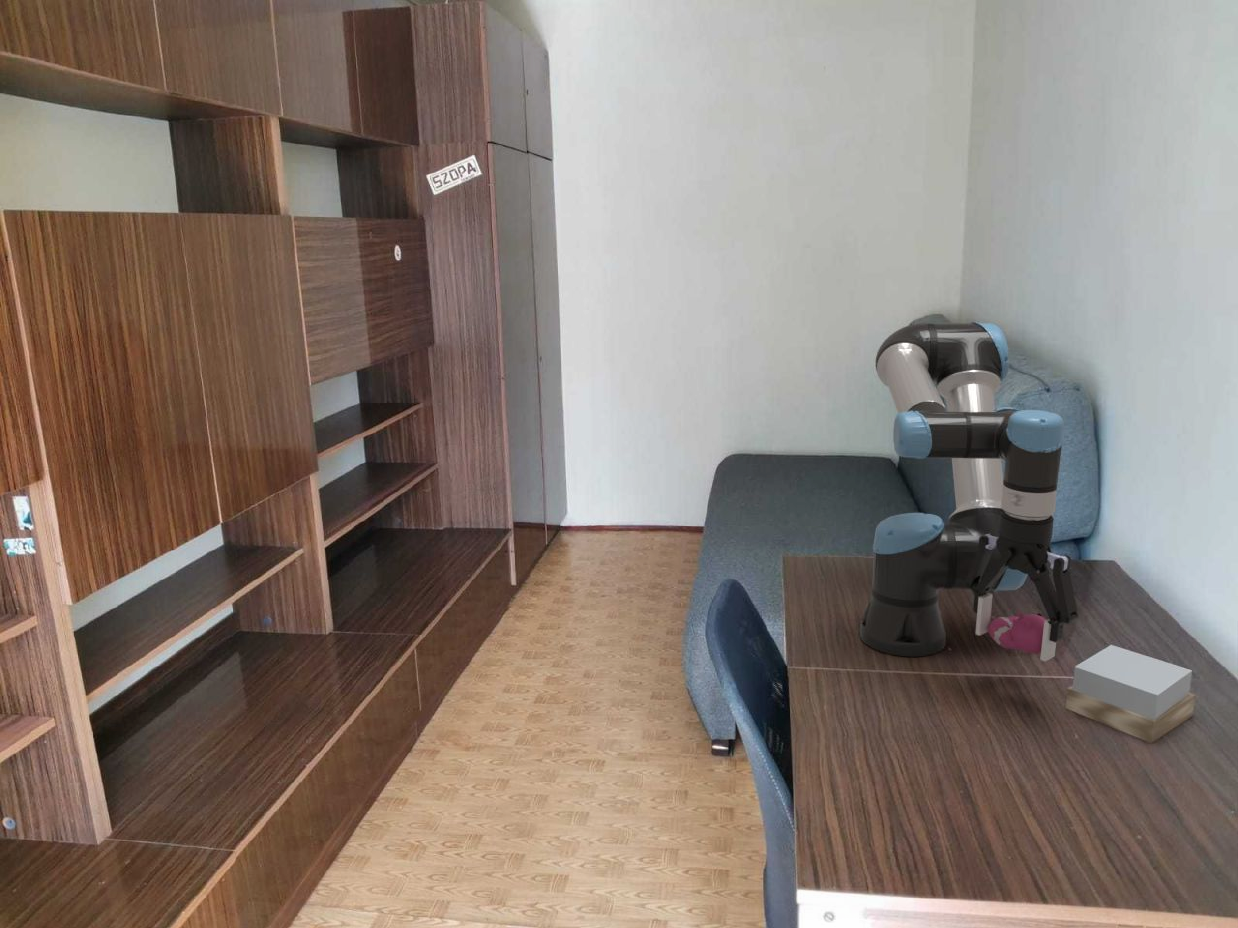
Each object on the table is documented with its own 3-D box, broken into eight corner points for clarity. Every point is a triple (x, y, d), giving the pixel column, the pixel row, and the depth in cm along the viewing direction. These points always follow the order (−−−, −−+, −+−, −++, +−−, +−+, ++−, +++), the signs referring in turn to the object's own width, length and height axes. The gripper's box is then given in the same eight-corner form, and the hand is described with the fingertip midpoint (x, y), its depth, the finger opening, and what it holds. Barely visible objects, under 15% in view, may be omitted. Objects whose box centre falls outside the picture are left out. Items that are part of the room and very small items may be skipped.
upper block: (1072, 690, 142) (1074, 666, 141) (1108, 667, 149) (1111, 644, 148) (1154, 720, 133) (1157, 695, 132) (1189, 694, 140) (1192, 670, 139)
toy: (1078, 657, 142) (1053, 614, 138) (1027, 686, 143) (1001, 644, 139) (1040, 617, 152) (1016, 576, 148) (993, 645, 153) (968, 605, 149)
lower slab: (1065, 711, 144) (1067, 688, 143) (1107, 686, 151) (1109, 664, 150) (1151, 746, 133) (1154, 721, 132) (1192, 718, 140) (1195, 694, 140)
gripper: (946, 499, 146) (937, 626, 152) (1088, 538, 127) (1071, 680, 133) (974, 491, 150) (964, 614, 156) (1116, 527, 132) (1098, 665, 137)
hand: (1013, 644), depth 144 cm, fingers closed on toy, 10 cm apart
